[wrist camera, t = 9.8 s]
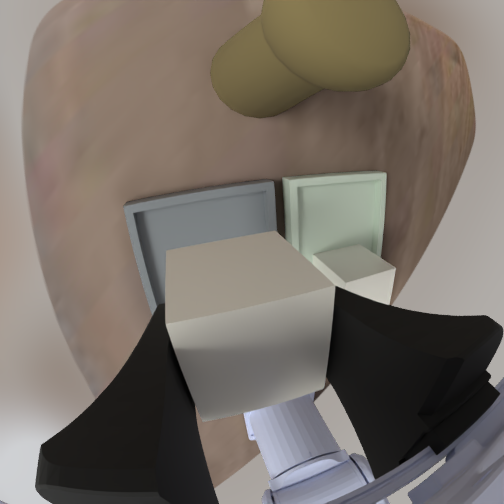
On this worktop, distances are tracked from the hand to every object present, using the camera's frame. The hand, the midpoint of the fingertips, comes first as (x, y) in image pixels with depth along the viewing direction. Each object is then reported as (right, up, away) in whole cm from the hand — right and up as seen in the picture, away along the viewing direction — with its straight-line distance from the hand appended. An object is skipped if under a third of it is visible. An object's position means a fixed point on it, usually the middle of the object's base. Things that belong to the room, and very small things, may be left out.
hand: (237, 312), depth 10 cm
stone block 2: (+7, +1, +11) cm, 13 cm away
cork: (+1, +13, +5) cm, 14 cm away
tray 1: (-2, +1, +9) cm, 9 cm away
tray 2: (+7, +3, +11) cm, 13 cm away
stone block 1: (0, +1, +1) cm, 2 cm away
